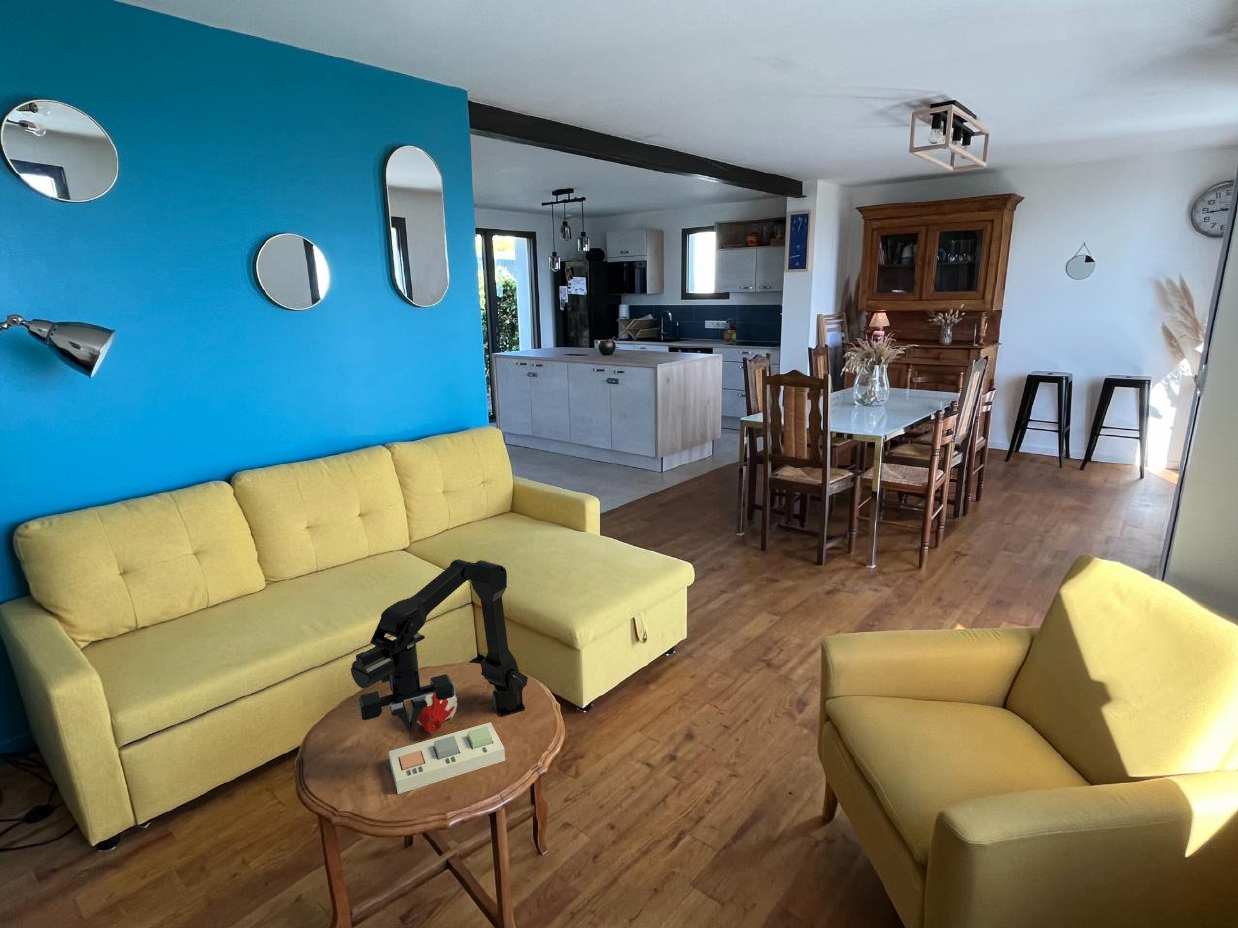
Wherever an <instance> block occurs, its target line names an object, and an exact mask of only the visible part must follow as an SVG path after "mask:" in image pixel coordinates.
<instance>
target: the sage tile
mask: <svg viewBox="0 0 1238 928" xmlns="http://www.w3.org/2000/svg"><path fill="white" fill-rule="evenodd" d="M468 741H469V743H470V745H471V748H472V750H473V749H476V748H479V747H483V746H486V745H489V744H492V736H491V734H490V732H489V730H488V728H487V726H486V727H482V728H479V729H475V730H472V731H468Z"/></svg>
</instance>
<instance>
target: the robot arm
mask: <svg viewBox="0 0 1238 928" xmlns="http://www.w3.org/2000/svg"><path fill="white" fill-rule="evenodd" d="M507 575H508V573H507V569H506V567H504V566H503V565H501V564H497V563H493V562H489V561H487V560H483V559H481V560H477V561H476V562H471V561H466V560H464V559H463V560H462V559H459V558H458V559H453V560H452V561H451V562H450V564H449V566H448V567H447V568H446V569H445V570H443V571H441V573H439V574H438V575H437V576H436V577H435V578H433V580H431V581H429V582H428V583H427V584H426V585H425V586H423V588H421V589H420V590H419V591H417V592H416V593H415V594H414V595H413V596H411V597H408V598H404V599H401V600H398V601H396V602H395V603H393V604H392V605H390V606H388V607H387V608H385V609H384V610H383V612H381V614H380V619H379V621H378V624H377V626H376V629H375V631H374V632H373V635H372V637H371V640H370V641H369V642H370V644H372V645H373V647H372V648H369V649H367V650H365V651H361V652H359V653H356V655H355V660H354V661H353V662H352V664H351V667H350V674H351V676H352V679H353V681H354V682H355V684H356V685H357V687H359V688H360V689H363V690H365V689H367V688H369V687H371V686H373V685H375V684H376V683H378V682H380V683H382V684H384V683H385V684H386V683H389V684H388V685H389V689H390V691H391V694H387V695H384V696H380V695H379V692H378V690H377V691H373V692H370V693H366V694H361V695H360V696H359V698H358V707H359V711H360V716H361V720H363V721H368V720H372V719H376V718H379V717H380V715H382V713H383V710H382V709H383V708H384V707H387V706H388V707H389V711H390V714H391V716H392V717H396V716H397V717H398V718H399V720H400V721H402V723H403V725H404V726H405V728H406V730H407V732H408V733H409V734H412V733H414V731H415V728H416V725H417V720H418V717H419V715H420V714H421V712H422V710H423V708H426V707H427V702H426V699H425V698H426V696H427V695H431V694H434V693H435V694H436V698H437V699H439V700H444V699H448V698H452V697H453V696H454V687H453V684H452V682H453V681H452V680H451V678H450V676H449V675H448V674H446V673H445V674H441V675H438V676H433V677H430V679H429V682H430V683H429V684H428V685H424V686H423V685H421V680H420V679H421V678H420V671H419V670H420V668H419V660H418V650H417V643H419V642H421V641H423V640H424V639H426V636H425V635H423V634H421V633H420V632H419V631H420V630H421V629H422V628H423V627H424V625H425V623H426V620H427V618H428V616H429V614H430V613H431V612H432V611H433V610H434V609H435V608H437V607H438V606H439V605H440V604H441V603H443V602H444V601H445V600H446V599H447V598H449V597H450V596H451V594H453V593H455V591H457V589H459V588H460V587H461V586H462V585H464V583H466V582H467V581H470V583H471V587H472V590H473V591H474V592H475V594H476V595H477V596H478V599H480V603H481V604H480V605H481V610H482V611H481V612H482V613H481V614H482V618H483V625H484V626H483V627H484V633H485V634H484V635H485V641H486V647H487V653H486V656H485V657H484V658H483V660H481V661H480V663H479V664H480V667H481V673H480V675H481V676H483V678H484V679H485V680H486V681H487V682H488V684H489V685H493V689H494V690H493V691H492V694H491V695H492V704H493V705H492V706H493V708H494V709H495V711H496V712H497V713H498V715H499V716H500V717H504V716H507V715H511V714H515V713H517V712H521V711H525V710H526V706H525V705H524V702H523V701H524V700H523V699H524V698H523V691H524V688H525V687H526V686H527V684H528V680H529V678H528V676H527V675H525V674H523V673H521V672H520V669H519V666H518V665H519V664H518V662H517V660H516V658H515V657H514V655H513V653H512V652H511V651H510V649H509V643H508V635H507V628H506V627H507V626H506V619H505V612H504V603H503V595H504V593H505V591H506V589H507V587H508V586H507V585H508V576H507ZM386 635H388V636H391V637H393V638H394V639H390V638H388V637H386ZM451 681H452V682H451ZM430 684H431V685H430ZM407 701H408V702H409V709H410V711H409V716H408V712H407V709H406V705H405V702H407Z"/></svg>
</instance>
